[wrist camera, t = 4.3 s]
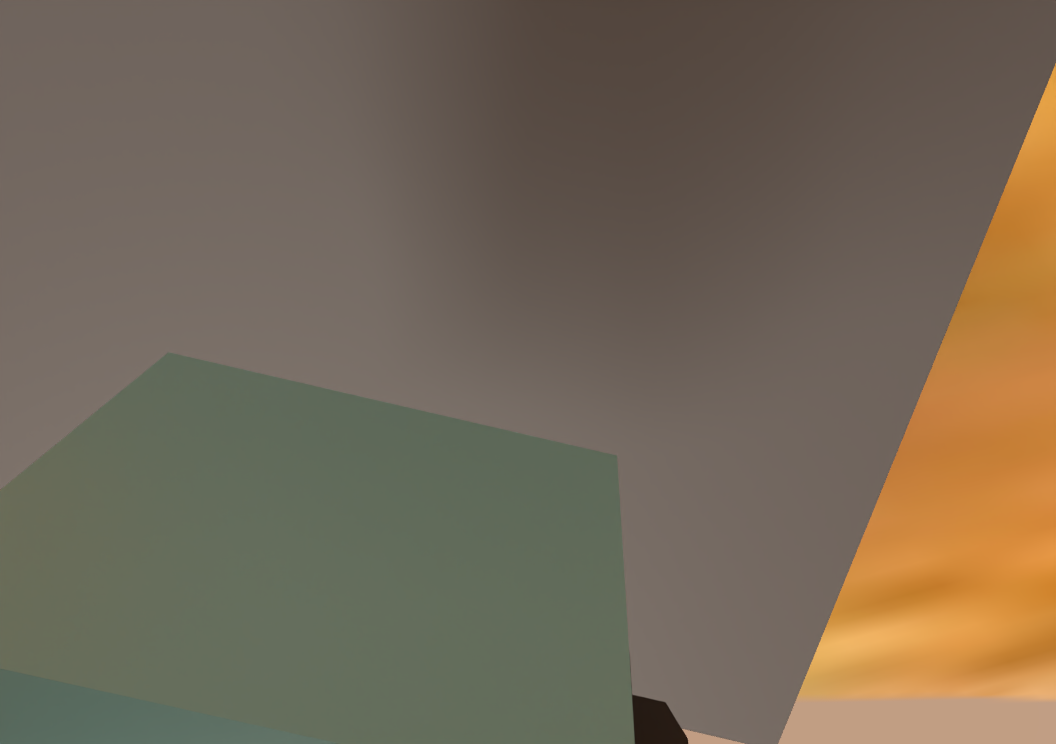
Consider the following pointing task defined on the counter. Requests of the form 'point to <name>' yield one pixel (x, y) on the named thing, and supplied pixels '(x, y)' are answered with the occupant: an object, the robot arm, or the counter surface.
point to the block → (308, 575)
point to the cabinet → (537, 252)
